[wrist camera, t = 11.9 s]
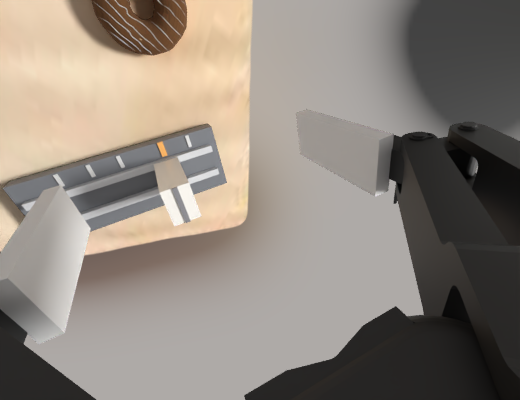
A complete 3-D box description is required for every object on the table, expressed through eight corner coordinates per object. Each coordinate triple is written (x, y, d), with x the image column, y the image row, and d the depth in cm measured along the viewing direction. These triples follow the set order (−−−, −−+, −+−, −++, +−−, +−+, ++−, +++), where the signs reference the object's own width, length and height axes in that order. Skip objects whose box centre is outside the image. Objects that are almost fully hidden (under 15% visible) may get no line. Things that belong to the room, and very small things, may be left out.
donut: (164, -58, 31) (168, -71, 28) (196, 43, 37) (202, 41, 34) (70, -40, 29) (62, -53, 25) (120, 64, 34) (118, 65, 31)
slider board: (9, 181, 35) (-1, 191, 32) (207, 123, 42) (212, 128, 39) (53, 237, 40) (48, 250, 38) (223, 177, 47) (228, 184, 45)
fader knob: (153, 162, 39) (159, 193, 30) (176, 154, 40) (189, 183, 31) (165, 190, 41) (174, 227, 32) (186, 183, 42) (201, 216, 33)
